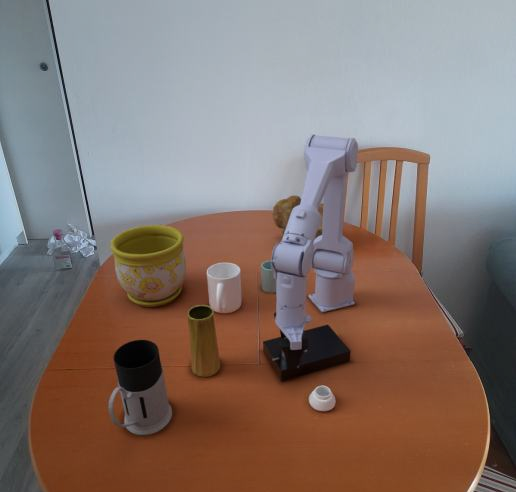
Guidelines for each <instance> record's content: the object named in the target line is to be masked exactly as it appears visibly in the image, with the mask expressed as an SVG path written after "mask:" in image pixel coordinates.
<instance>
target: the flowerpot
mask: <svg viewBox="0 0 516 492" xmlns="http://www.w3.org/2000/svg"><path fill="white" fill-rule="evenodd" d="M184 238H185V237H184V234H183V233H182V232H181V230H179V229H177V228H175V227H173V226H169V225H163V224H147V225H140V226H135V227H132V228H129V229H126V230H123V231H121V232H119V233H117V235H115V236H114V237H113V238H112V239H111V241H110V244H109V246H110V250H111V252H112V254H113V255H112V256H113V258H114V268H115V275H116V278H117V281H118V283H119V285H120V286H121V288H122V289H123V290H124V291H125V293H126V294H127V297H128V299H129V300H130V301H131V302H133V303H135V304H136V305H138V306H141V307H147V308H153V307H160V306H164V305H167V304H169V303H171V302H173V301H174V300H175V299H176V298H177V297H178V296H179V295H180V293H181V291H182V289H183V285H182V284H183V283H184V281H185V278H186V272H187V262H186V255H185V251H184V244H183V243H184Z"/></svg>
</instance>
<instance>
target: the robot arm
mask: <svg viewBox="0 0 516 492" xmlns="http://www.w3.org/2000/svg"><path fill="white" fill-rule="evenodd" d="M358 153H359V144H358V142H357V139H356V138H354V137H337V136H327V135H317V134H310V135H309V137H307V139H306V141H305V144H304V150H303V158H304V162H305V163H304V164H305V168H306V170H307V174H306V178H305V181H304V182H305V183H304V186H303V191H302V195H301V203H300V205H298V206H296V207H294V208H293V209H292V212H291V215H290V218H289V221H288V224H287V227H286V230H285V232H284V235H283V234H282V239H281V240H280V242H277V243H276V244H275V245H274V247H273V249H272V253H271V259H270V260H271V268H272V270H273V273H274V279H275V280H276V292H275V294H276V296H275V297H276V299H275V300H276V303H275V305H276V308H275V309H276V311H275V312H273V317H274V320H275V321H274V323H275V325H276V326H277V327H278V329H279V332H280V337H281V339H279V344H280V347H281V349H282V351H283V352H284V354H285V359H286V364H287V367H288V368H294V367H298V365H299V363H300V360H301V357H302V355H303V353H304V351H305V350H306V349H307V348H308V346H309V342H308V339H301V338H302V335H303V331H305V327H306V325H307V324H311V322H312V317H311V314H308V313H307V314H306V312H307V311H306V310H307V297H308V298H309V300H310V301H311V302H312V303H313V304H314V305H315V306H316V307H317V309H319V311H320V312H321V313H326V312H329V311H334V310H337V309H342V308H346V307H349V306H354V305H355V304H356V303H355V300H354V296H355V295H354V294H355V285H356V278H355V274H354V272H353V270H352V268H353V263H354V259H355V254H354V243H353V242H352V241H350V240H349V239H348V238H347V237H346V236H345V235H344V220H345V219H344V218H345V208H344V205H345V206H346V204H345V203H346V189H347V178H348V175H349V173H353V172H356V169H357V166H358V155H359V154H358ZM322 201H323V203H324V206H323V227H322V235H320V236H318V237H317V238H316V239H315V236H316V233H317V230H318V227H319V224H320V221H321V215H320V213H319V212H318V208H319V206H320V204H322ZM342 233H343V234H342ZM314 239H315V240H314ZM311 269H313V273H315V285H314V293H311V294H308V296H307V286H308V285H307V284H308V274H309V272H310V270H311ZM286 337H287V338H286Z"/></svg>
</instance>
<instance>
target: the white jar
mask: <svg viewBox="0 0 516 492" xmlns="http://www.w3.org/2000/svg"><path fill="white" fill-rule="evenodd" d="M336 400H337V399H336V396H335V395H334V394H333V392H332V390H331V389H330V387H328V386H326V385H317V387H315V389H313V391H312V392H310V394H309V396H308V404H309V405H310V406H311V408H313V410H315V411H319V412H329V411H330V410H331V411H332V409H333V408H335V406H336V403H337V402H336Z"/></svg>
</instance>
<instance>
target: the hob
mask: <svg viewBox="0 0 516 492" xmlns="http://www.w3.org/2000/svg"><path fill="white" fill-rule="evenodd" d="M279 339H281V336H278V337H274V338H271V339H267V340H263V341H262V352H263V354H264V356H265V357H266V359H267V361H268V362H269V364H270V366H271V367H272V369H273V371H274V372H275V374H276V377H278V379H279V381H280V382H286V381H289V380H292V379H296V378H298V377H302V376H303V377H304V376H305V375H309V374H313V373H316V372H320V371H323V370H327V369H329V368H333V367H336V366H339V365H343V364H347V363H350V362H351V353H352V350H351V349H350V348H349V346H347V345H346V343H345V342H344V341H343V340H342V338H340V337H339V335H338V334H337V333H336V332H335V331H334V329H333V328H331V326H330V325H329V324H324V325H320V326H316V327H314V328H313V327H312V328H309V329H304V331H303V335H302V338H301V339H308V342H309V346H308V348H307V349H306V350H305V351H304V353H303V355H302V357H301V360H300V363H299V365H298V367H294V368H288V367H287V364H286V360H284V359H283V358H282V356H281V347H280V344H279Z"/></svg>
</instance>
